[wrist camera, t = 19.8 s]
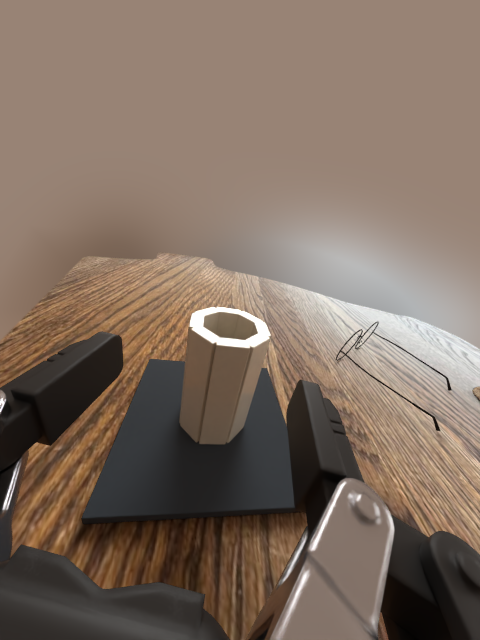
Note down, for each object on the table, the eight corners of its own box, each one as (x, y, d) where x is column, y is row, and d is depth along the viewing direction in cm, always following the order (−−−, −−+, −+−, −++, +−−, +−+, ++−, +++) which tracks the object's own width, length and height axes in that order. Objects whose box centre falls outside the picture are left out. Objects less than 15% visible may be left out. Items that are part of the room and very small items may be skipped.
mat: (82, 524, 10) (80, 519, 10) (149, 363, 21) (149, 358, 20) (310, 511, 12) (314, 506, 12) (265, 372, 23) (266, 368, 23)
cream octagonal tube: (175, 444, 14) (185, 341, 10) (185, 388, 18) (194, 303, 14) (246, 445, 14) (278, 351, 11) (239, 392, 19) (260, 312, 15)
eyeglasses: (451, 388, 27) (477, 357, 25) (437, 438, 19) (474, 399, 17) (364, 343, 34) (379, 316, 32) (327, 366, 26) (343, 332, 24)
